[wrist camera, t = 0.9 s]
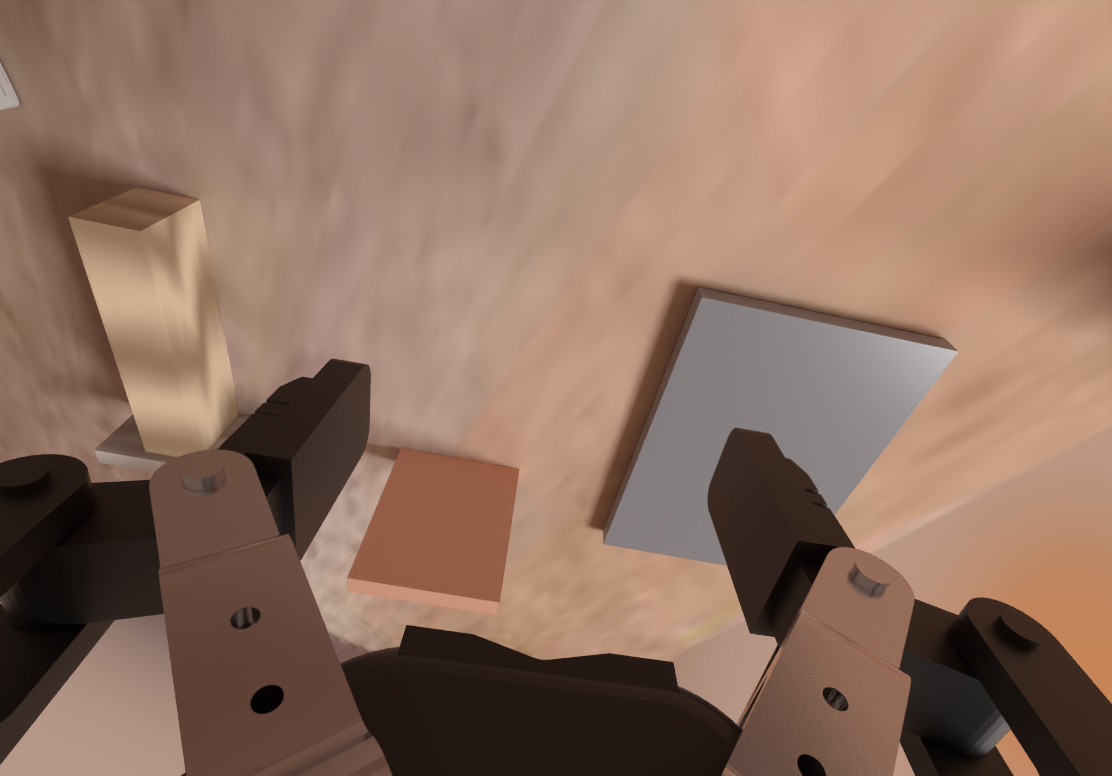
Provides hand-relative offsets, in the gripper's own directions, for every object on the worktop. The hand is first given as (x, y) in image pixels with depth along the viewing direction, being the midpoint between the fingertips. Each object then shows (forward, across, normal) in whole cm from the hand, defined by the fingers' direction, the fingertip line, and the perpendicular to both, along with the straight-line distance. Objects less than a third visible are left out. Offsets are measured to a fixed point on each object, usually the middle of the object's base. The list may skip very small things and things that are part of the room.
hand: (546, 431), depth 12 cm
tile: (+20, +4, +16) cm, 26 cm away
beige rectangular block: (+19, +20, +9) cm, 29 cm away
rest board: (+19, -14, +11) cm, 26 cm away
